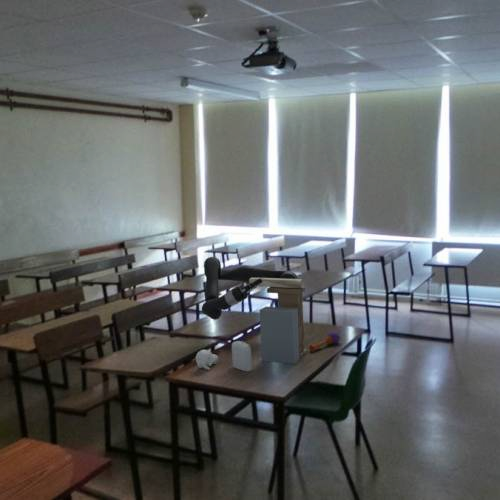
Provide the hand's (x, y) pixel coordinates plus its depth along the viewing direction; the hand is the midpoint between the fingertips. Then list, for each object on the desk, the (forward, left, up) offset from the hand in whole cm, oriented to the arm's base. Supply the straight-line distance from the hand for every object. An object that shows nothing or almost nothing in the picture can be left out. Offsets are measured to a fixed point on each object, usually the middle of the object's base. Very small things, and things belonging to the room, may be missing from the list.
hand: (262, 279), depth 267 cm
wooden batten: (0, +7, -3) cm, 7 cm away
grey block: (+10, +12, -36) cm, 39 cm away
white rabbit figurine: (+28, -16, -36) cm, 48 cm away
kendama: (-15, +25, -36) cm, 46 cm away
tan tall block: (0, +12, -36) cm, 37 cm away
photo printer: (+26, 0, -36) cm, 44 cm away
